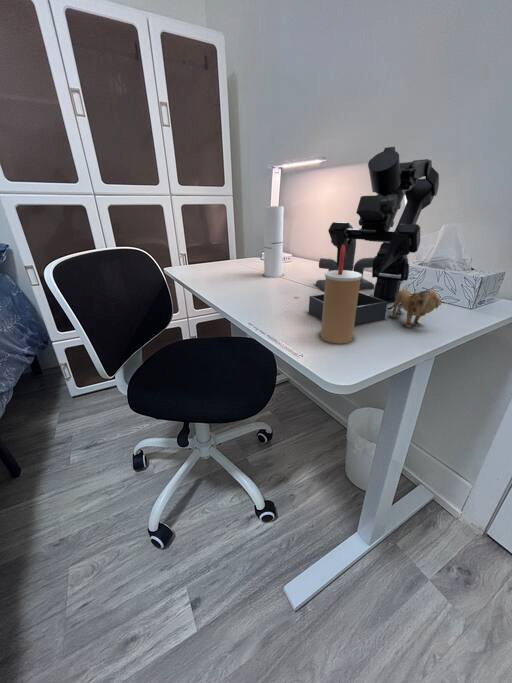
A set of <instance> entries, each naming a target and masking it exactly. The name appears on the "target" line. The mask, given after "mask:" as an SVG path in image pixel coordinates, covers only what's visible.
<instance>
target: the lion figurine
mask: <svg viewBox="0 0 512 683" xmlns="http://www.w3.org/2000/svg"><path fill="white" fill-rule="evenodd" d="M442 303H443V300H441V299H440V298H439V296H438V295H437V291H436V290H434V289H427V290H422V291H419V292H415V293H413V294H411V293H410V291H409V290H407V289H402V290H399V292H398V293H397V295H396V298H395V301H394V304H393V305H392V306H389V307H387V309H386V310H388V311H391V310H392V314H391V316H390V318H393V319H395V318H397V315H396V313H397V314H401V315H402V314H403V311H402V309H403V310H404V311H406V321H405V325H404V326H405V328H412V319H413V316H414V319H413V325H414V326H416V327H420V326H421V323H420V322H419V319H420V318H421V317H425V316H426V314H430V313H431V312H433V311H434V310H438V308H439V307H440V306H441V305H442Z"/></svg>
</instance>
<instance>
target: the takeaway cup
mask: <svg viewBox="0 0 512 683" xmlns="http://www.w3.org/2000/svg"><path fill="white" fill-rule="evenodd" d="M344 254H345V245H342V246H341V251H340V260H339V269H338V270H334V271H329V270H328V271H326V272H325V273H324V277H325V280H326V281H325V291H323V294H324V303H323V315H322V320H321V328H320V338H321V339H322V340H323V341H324V342H327V343H330V344H338V345H341V344H348V343H351V341H352V340H353V338H354V337H353V336H354V331H355V330H354V329H355V326H354V323H355V316H356V309H357V302H358V295H359V292H360V289H359V287H360V280H361V279H362V274H361V273H359V272H355V271H347V270H343V263H344Z"/></svg>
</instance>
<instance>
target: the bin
mask: <svg viewBox="0 0 512 683" xmlns="http://www.w3.org/2000/svg"><path fill="white" fill-rule="evenodd" d="M370 295H371V294H368V293H364V292H361V291H359V295H358V302H357V309H356V316H355V323H354V327H355V326H360V325H363V324H368V323H374V322H379V321H383V320H385V319H386V314H387V310H388V309H387V308H388V303H389V302H387V301H384V300H381V299H378V298H376V297H373V296H370ZM308 298H309V299H308V314H309V315H311V316H314V317H315V318H317V319H319V320H321V321H322V315H323V303H324V293H322V294H315V295H309V296H308Z"/></svg>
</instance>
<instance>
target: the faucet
mask: <svg viewBox="0 0 512 683" xmlns="http://www.w3.org/2000/svg"><path fill="white" fill-rule="evenodd" d="M350 228H351V229H354V227H353V226H352V224H350ZM330 243H331V244H333V243H332V240H330ZM356 248H357V239H352V242H351V245H349V251H348V253H347V255H346V257H345V259H344V263H343V270H347V271H355V272H359V273H361V274H362V279H361V280H360V287H359V290H368V289H370V290H371V289H375V283H372V282H371V281H370V280H367V279H366V278H363V276H364V270H365V269H372V265H373V260H374V257H363V258H360V259H358V260H357V261H356V262H355V256H356ZM318 268H319V269H321V270H322V269H324V270H328V271H334V270H338V269H339V267H337V260H335V259H331V258H322V257H321V258H320V259H319V262H318ZM325 281H326V279H318V280H316V282H315V285H316V287H318V288H319V289H321V290H322V291H323V292H325Z"/></svg>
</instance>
